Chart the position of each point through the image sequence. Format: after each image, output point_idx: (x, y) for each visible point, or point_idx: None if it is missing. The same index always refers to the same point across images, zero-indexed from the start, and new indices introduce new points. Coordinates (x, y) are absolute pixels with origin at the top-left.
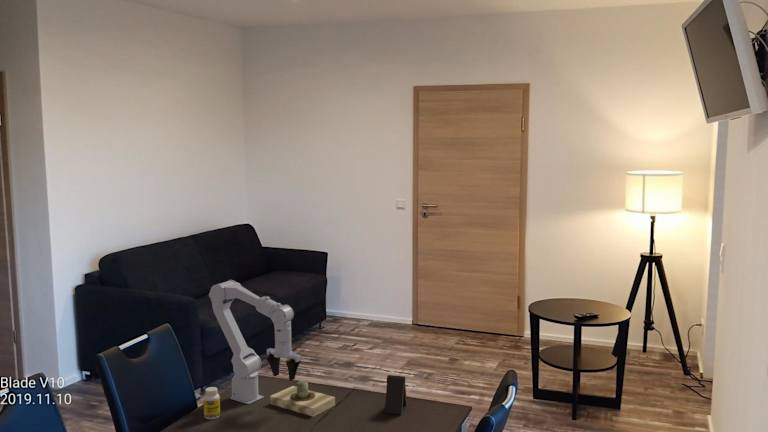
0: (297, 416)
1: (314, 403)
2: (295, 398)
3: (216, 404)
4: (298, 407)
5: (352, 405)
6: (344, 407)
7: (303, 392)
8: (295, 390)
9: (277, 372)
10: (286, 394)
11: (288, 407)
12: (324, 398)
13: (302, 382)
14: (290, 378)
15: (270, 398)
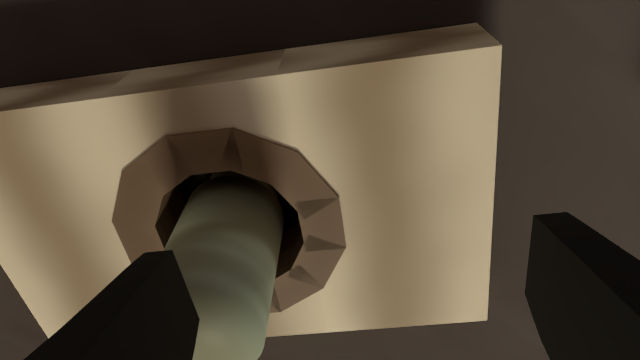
0: (47, 4)
1: (17, 199)
2: (230, 167)
3: None
4: (103, 86)
5: (25, 352)
6: (21, 314)
7: (165, 249)
8: (389, 276)
9: (546, 311)
10: (383, 178)
11: (238, 60)
12: (76, 302)
13: (211, 344)
14: (119, 274)
15: (489, 37)
